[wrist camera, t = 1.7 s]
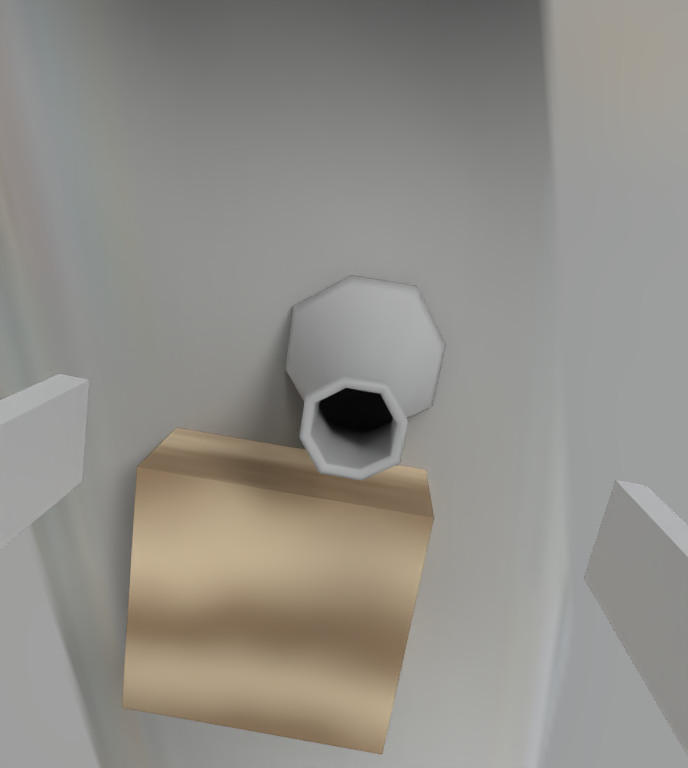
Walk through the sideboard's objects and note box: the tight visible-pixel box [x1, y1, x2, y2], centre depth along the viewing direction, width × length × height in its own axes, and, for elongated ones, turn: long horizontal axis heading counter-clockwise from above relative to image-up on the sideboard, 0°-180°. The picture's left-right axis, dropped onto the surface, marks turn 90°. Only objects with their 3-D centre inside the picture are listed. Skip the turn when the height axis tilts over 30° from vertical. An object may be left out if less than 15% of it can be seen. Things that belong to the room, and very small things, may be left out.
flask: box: [285, 275, 446, 481], centre depth 22 cm, size 7×7×10 cm
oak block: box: [122, 428, 434, 754], centre depth 28 cm, size 12×12×5 cm
